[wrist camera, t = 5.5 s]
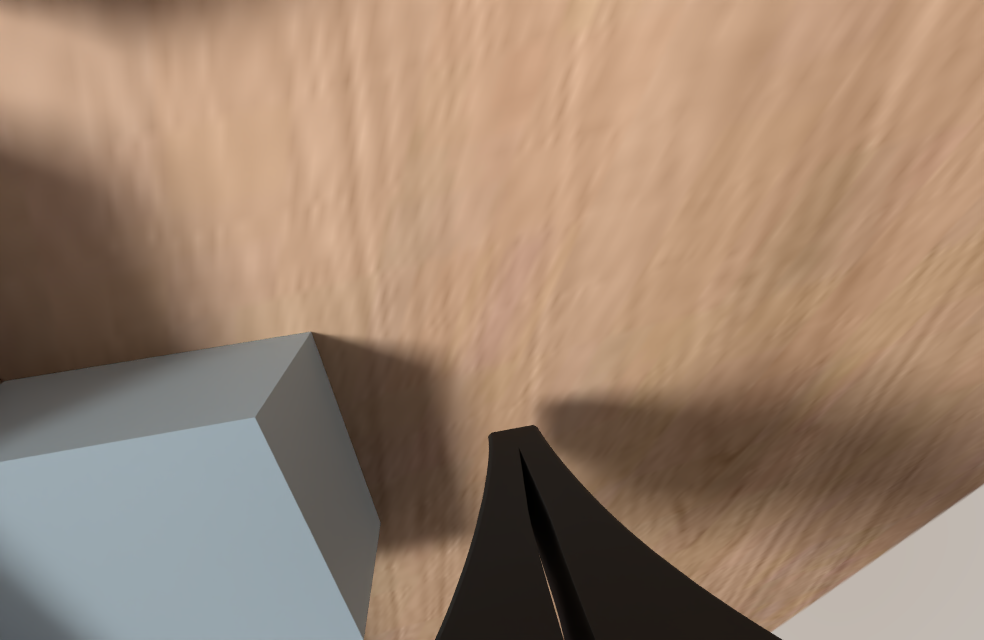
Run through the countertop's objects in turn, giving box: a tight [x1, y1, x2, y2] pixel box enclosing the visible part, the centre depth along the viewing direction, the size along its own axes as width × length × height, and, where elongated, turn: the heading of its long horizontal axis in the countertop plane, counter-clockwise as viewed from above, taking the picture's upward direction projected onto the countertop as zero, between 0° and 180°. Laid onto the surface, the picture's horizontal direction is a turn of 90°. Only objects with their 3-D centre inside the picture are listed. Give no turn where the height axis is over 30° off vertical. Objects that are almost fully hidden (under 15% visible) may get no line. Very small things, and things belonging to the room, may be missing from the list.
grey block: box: [0, 332, 381, 640], centre depth 11 cm, size 8×8×4 cm
